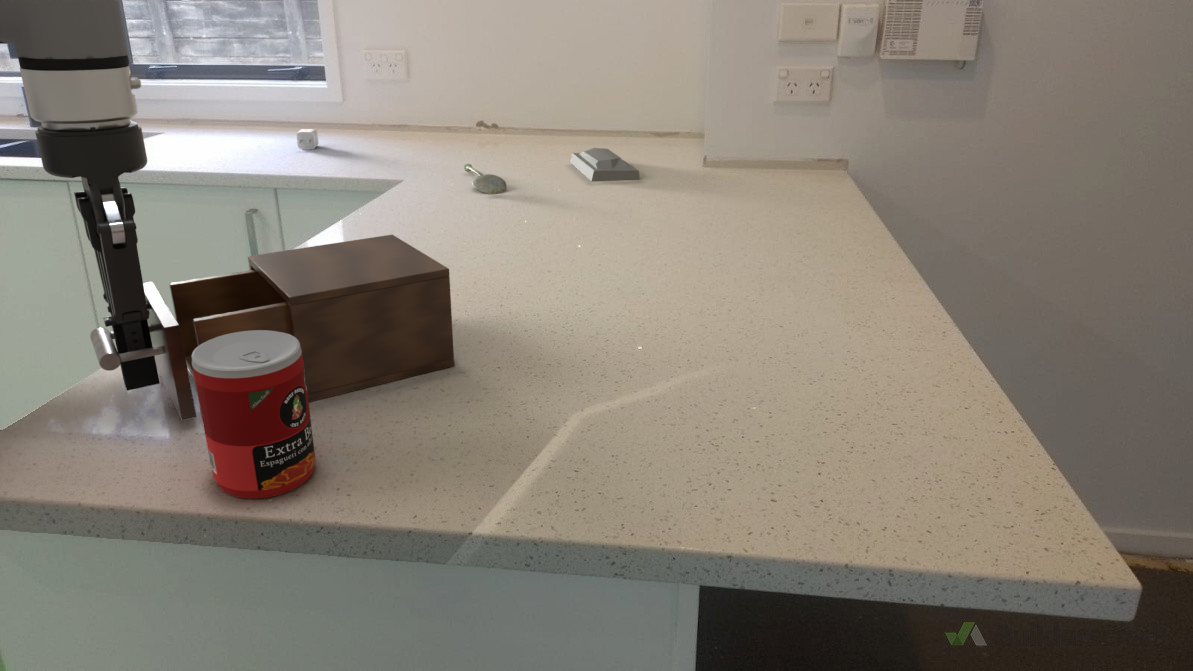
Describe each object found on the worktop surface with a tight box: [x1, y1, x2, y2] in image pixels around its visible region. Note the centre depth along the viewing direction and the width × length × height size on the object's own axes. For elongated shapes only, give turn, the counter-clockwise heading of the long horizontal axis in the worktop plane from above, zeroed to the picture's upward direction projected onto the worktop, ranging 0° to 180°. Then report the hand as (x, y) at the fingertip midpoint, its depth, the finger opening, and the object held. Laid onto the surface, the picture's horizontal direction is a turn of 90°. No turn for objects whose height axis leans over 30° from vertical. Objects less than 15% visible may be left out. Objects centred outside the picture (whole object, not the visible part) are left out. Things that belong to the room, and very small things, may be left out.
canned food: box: [191, 330, 316, 499], centre depth 65 cm, size 8×8×11 cm
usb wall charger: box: [295, 128, 319, 150], centre depth 199 cm, size 4×7×4 cm, turn 7°
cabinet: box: [247, 234, 455, 403], centre depth 86 cm, size 16×15×11 cm
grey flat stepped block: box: [569, 147, 640, 182], centre depth 180 cm, size 10×20×4 cm, turn 14°
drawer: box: [89, 269, 292, 422], centre depth 79 cm, size 20×13×9 cm
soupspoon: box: [463, 163, 508, 195], centre depth 168 cm, size 22×3×7 cm
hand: (142, 383), depth 77 cm, fingers closed
